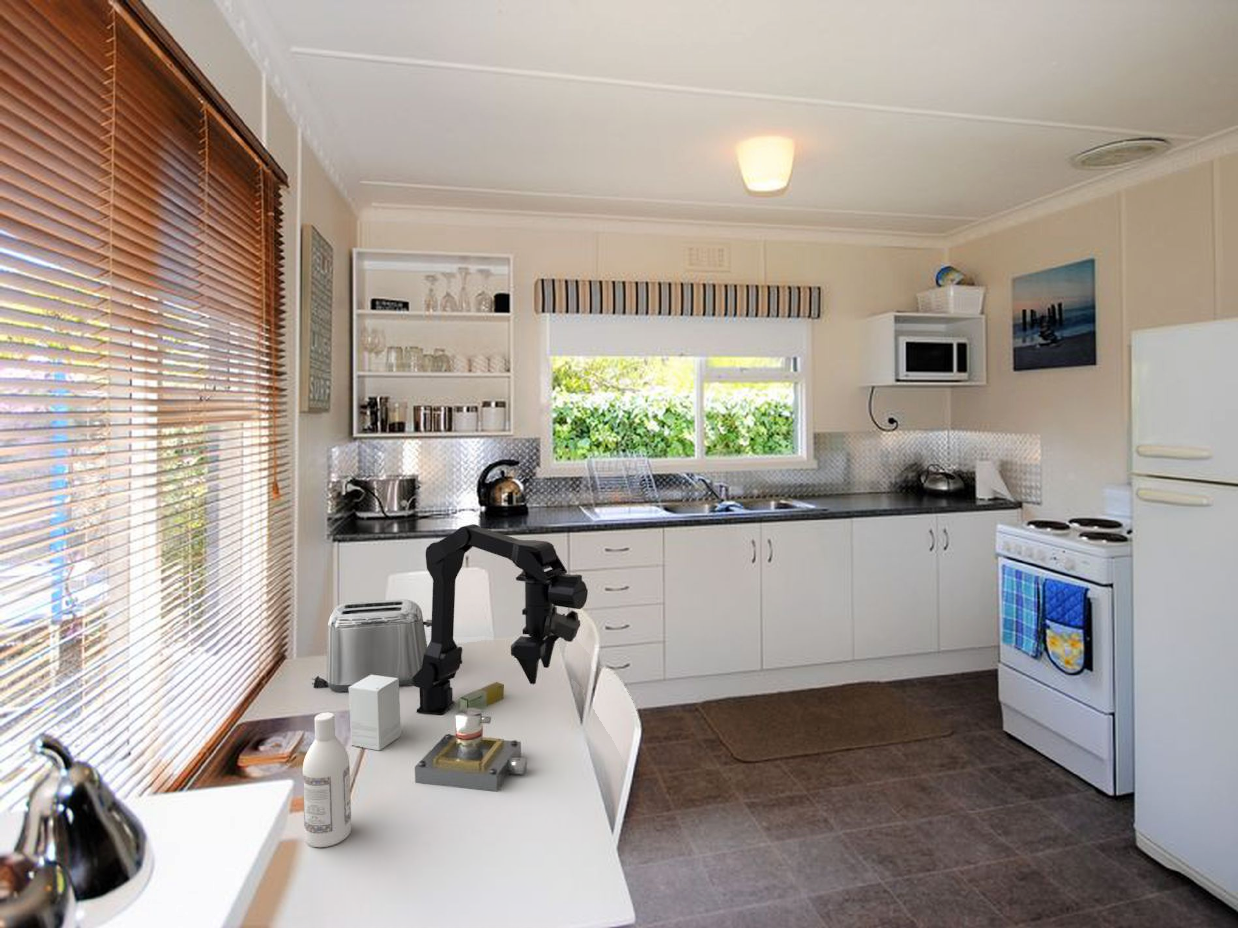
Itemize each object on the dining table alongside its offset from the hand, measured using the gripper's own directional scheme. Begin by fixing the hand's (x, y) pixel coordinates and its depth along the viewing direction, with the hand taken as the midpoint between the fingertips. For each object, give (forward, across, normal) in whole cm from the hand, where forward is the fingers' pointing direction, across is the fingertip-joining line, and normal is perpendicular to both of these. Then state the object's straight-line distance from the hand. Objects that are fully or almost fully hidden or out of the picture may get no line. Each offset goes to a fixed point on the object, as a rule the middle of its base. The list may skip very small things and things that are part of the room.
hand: (539, 675), depth 145 cm
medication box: (+13, +11, +18) cm, 25 cm away
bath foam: (+13, -40, +23) cm, 48 cm away
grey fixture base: (+13, -16, +7) cm, 22 cm away
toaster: (+13, +21, +52) cm, 57 cm away
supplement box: (+13, -9, +33) cm, 37 cm away
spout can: (+10, -16, +9) cm, 21 cm away
